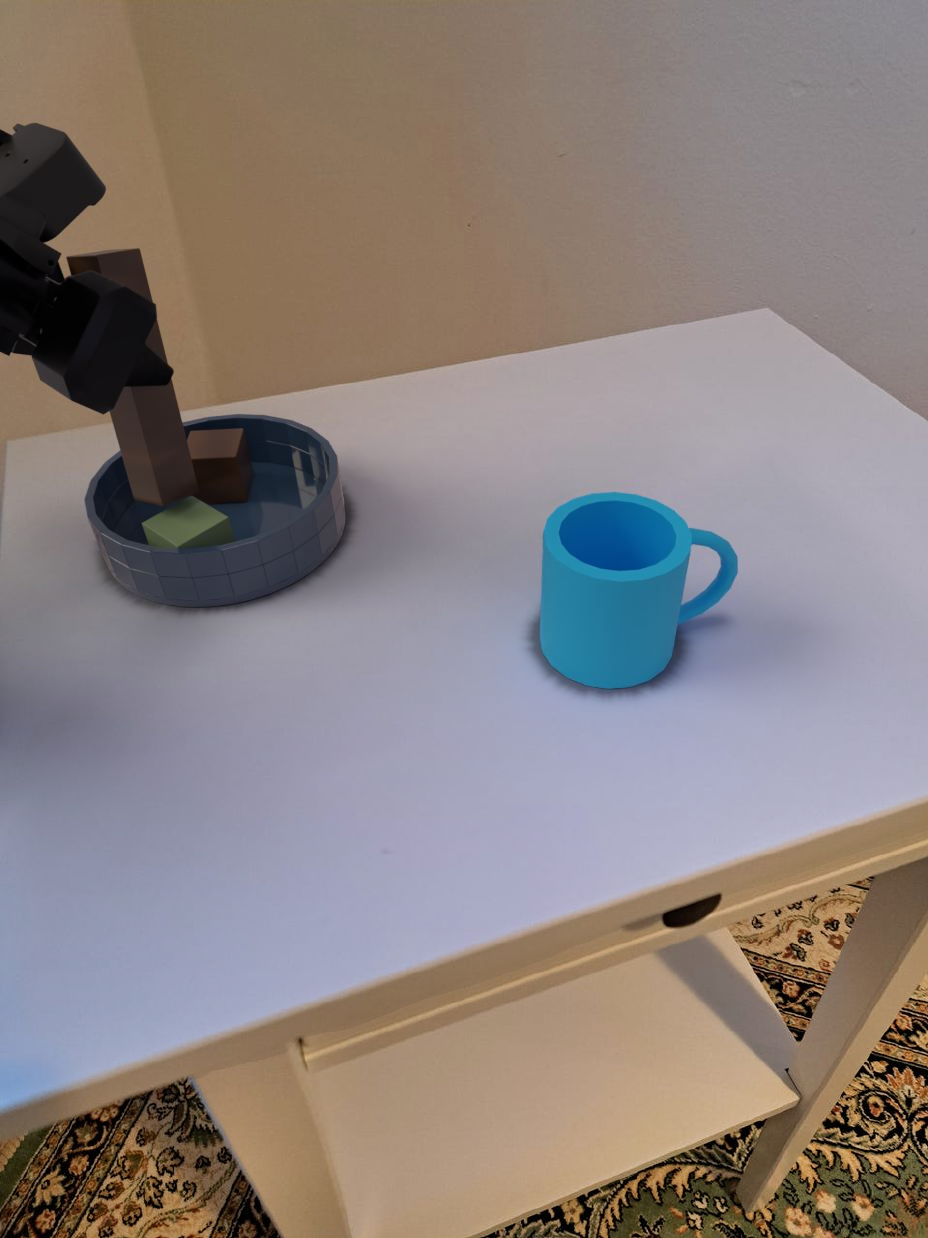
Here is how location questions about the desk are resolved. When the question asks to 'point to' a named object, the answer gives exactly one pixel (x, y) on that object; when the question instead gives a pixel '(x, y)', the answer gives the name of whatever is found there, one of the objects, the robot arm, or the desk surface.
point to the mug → (620, 587)
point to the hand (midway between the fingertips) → (153, 368)
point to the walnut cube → (221, 465)
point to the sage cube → (188, 526)
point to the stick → (145, 401)
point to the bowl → (262, 527)
